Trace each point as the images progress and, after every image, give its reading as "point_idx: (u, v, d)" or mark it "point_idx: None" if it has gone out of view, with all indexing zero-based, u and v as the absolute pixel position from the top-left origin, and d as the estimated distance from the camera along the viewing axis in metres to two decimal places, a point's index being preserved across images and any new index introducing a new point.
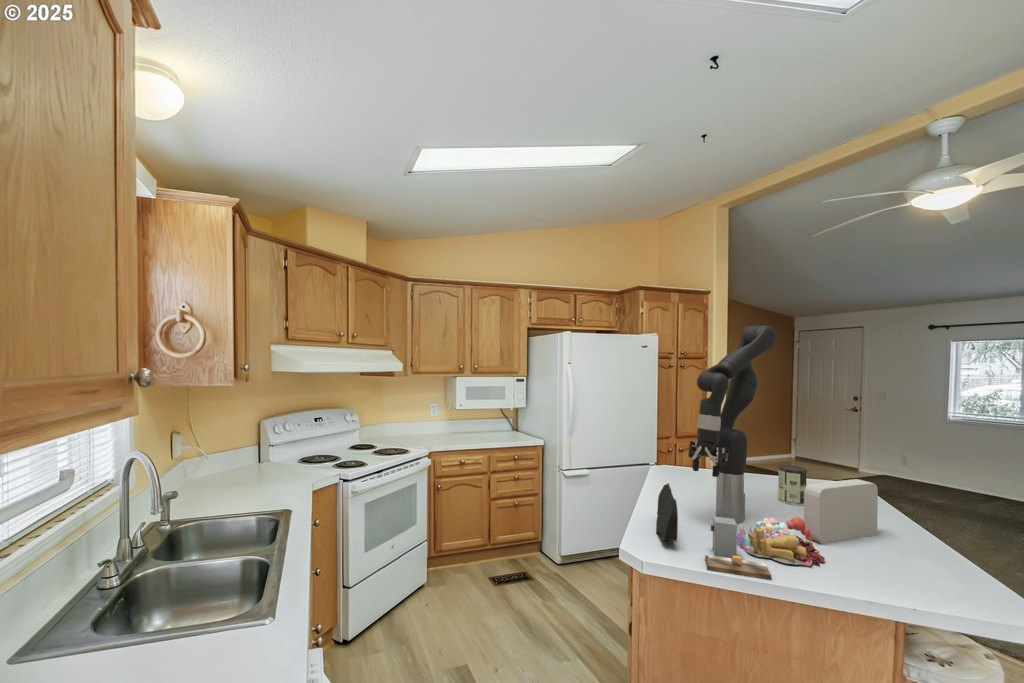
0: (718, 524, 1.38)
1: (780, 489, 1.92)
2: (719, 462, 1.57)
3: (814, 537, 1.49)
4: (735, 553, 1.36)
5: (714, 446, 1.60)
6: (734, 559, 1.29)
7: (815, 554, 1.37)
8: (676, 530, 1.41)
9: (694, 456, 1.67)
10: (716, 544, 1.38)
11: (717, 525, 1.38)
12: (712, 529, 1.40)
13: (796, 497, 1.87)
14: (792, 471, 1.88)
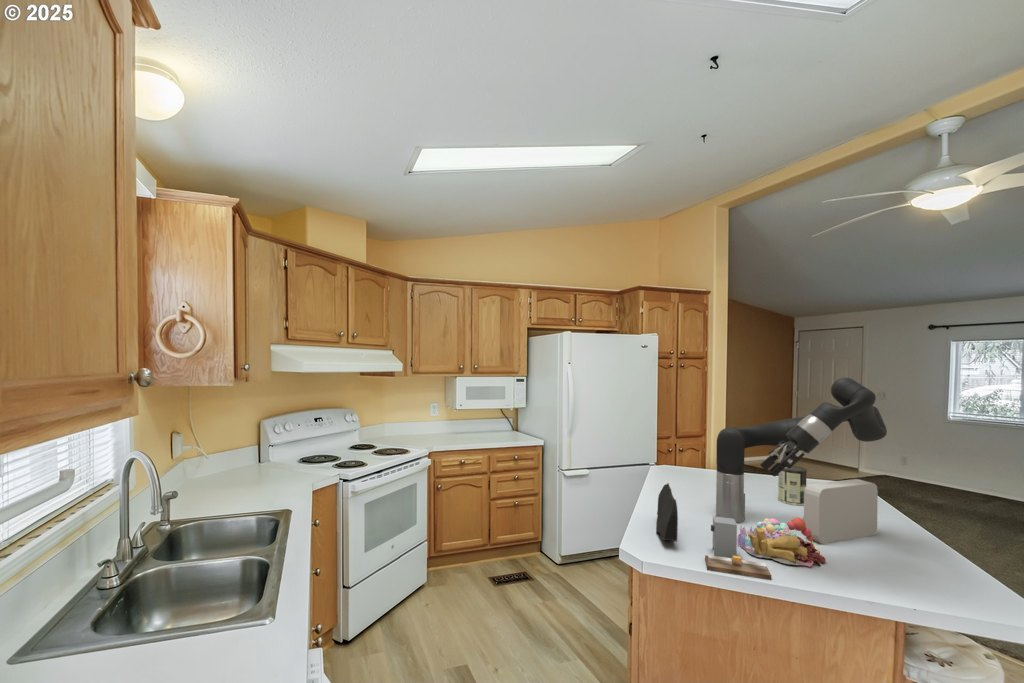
0: (718, 524, 1.38)
1: (780, 489, 1.92)
2: (784, 459, 1.30)
3: (814, 537, 1.49)
4: (735, 553, 1.36)
5: (795, 447, 1.32)
6: (734, 559, 1.29)
7: (816, 555, 1.36)
8: (676, 530, 1.41)
9: (772, 453, 1.40)
10: (716, 544, 1.38)
11: (717, 525, 1.38)
12: (712, 529, 1.40)
13: (796, 497, 1.87)
14: (792, 471, 1.88)
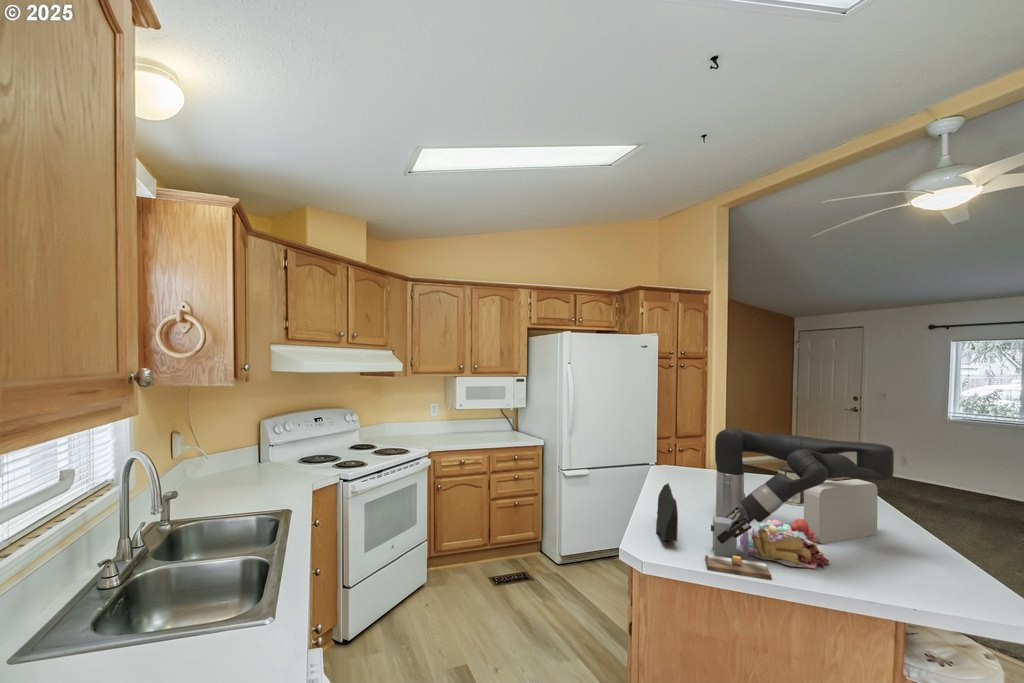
0: (718, 524, 1.38)
1: None
2: (731, 529, 1.34)
3: None
4: (735, 553, 1.36)
5: (746, 517, 1.34)
6: (734, 559, 1.29)
7: (819, 556, 1.35)
8: (676, 530, 1.41)
9: None
10: (716, 544, 1.38)
11: (717, 525, 1.38)
12: (712, 529, 1.40)
13: (796, 497, 1.87)
14: (792, 471, 1.88)
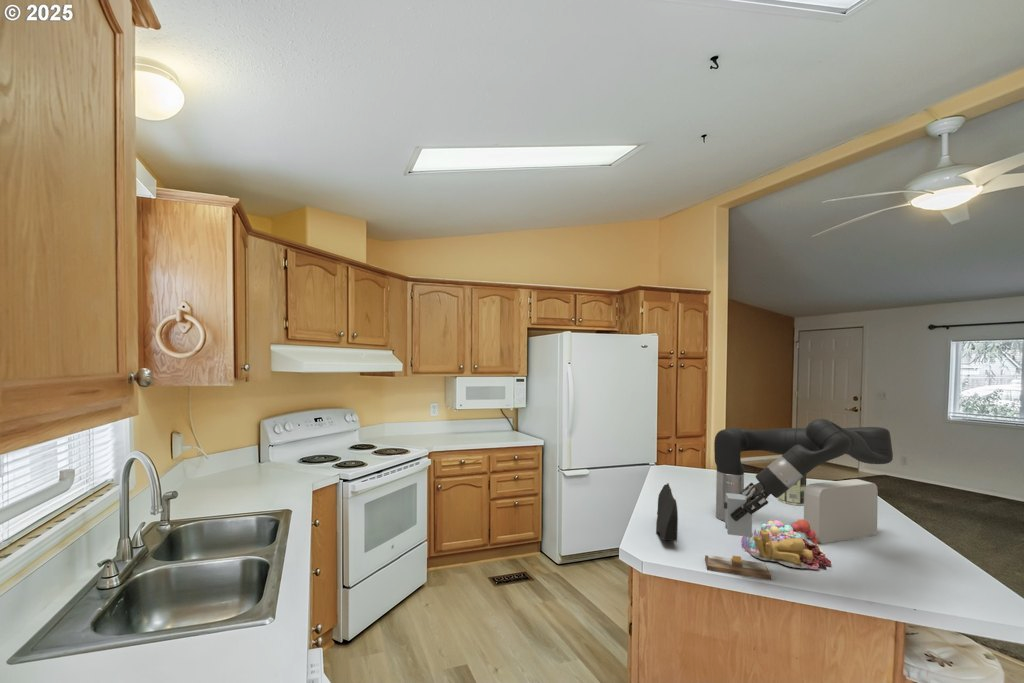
0: (731, 500, 1.28)
1: None
2: (746, 505, 1.24)
3: None
4: (750, 531, 1.26)
5: (762, 492, 1.24)
6: (734, 559, 1.29)
7: (821, 557, 1.34)
8: (676, 530, 1.41)
9: None
10: (729, 522, 1.28)
11: (731, 501, 1.28)
12: (725, 506, 1.30)
13: (796, 497, 1.87)
14: None
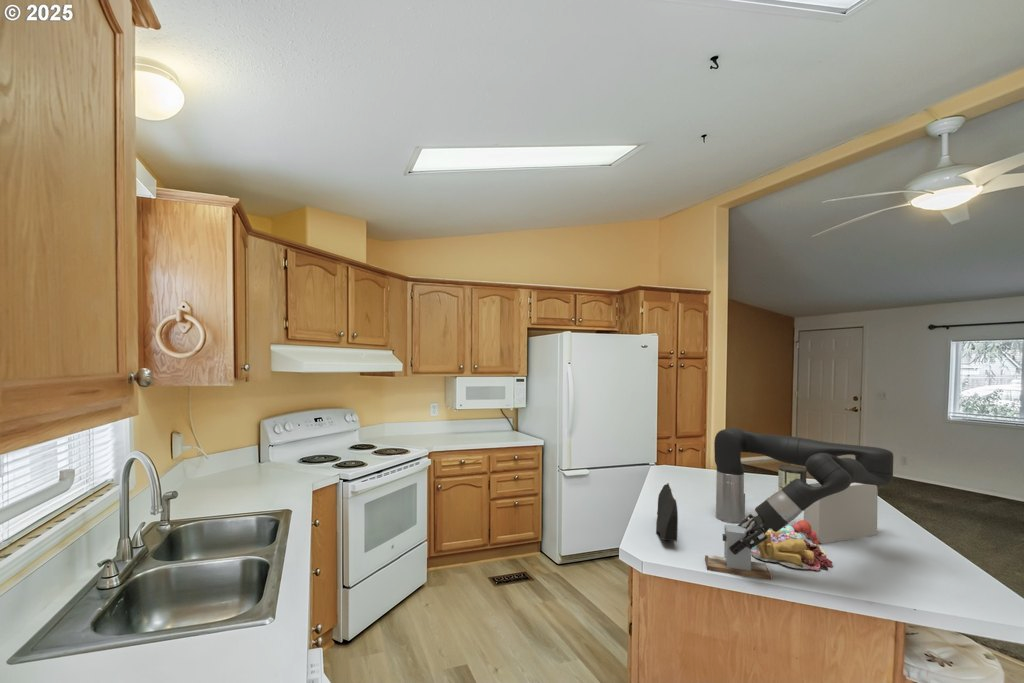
0: (731, 533, 1.27)
1: (780, 489, 1.92)
2: (745, 539, 1.24)
3: None
4: (749, 565, 1.26)
5: (761, 526, 1.24)
6: None
7: (823, 558, 1.34)
8: (676, 530, 1.41)
9: None
10: (729, 555, 1.27)
11: (730, 535, 1.28)
12: (724, 539, 1.30)
13: None
14: (792, 471, 1.88)
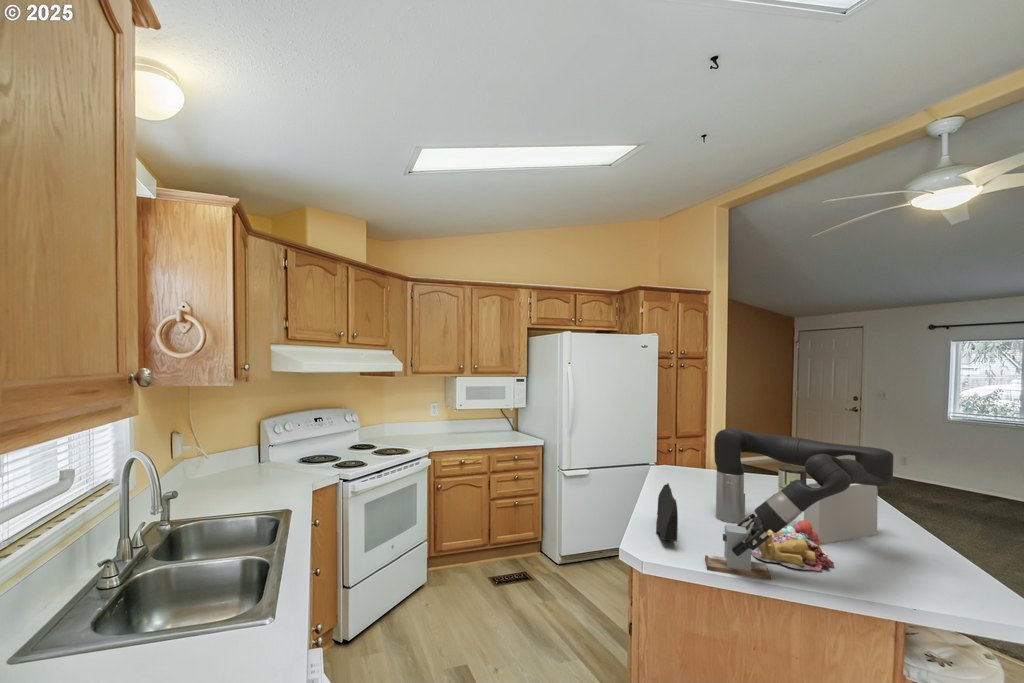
0: (731, 533, 1.27)
1: (780, 489, 1.92)
2: (747, 540, 1.23)
3: None
4: (749, 565, 1.26)
5: (761, 526, 1.24)
6: None
7: (824, 559, 1.34)
8: (676, 530, 1.41)
9: None
10: (729, 555, 1.27)
11: (730, 535, 1.27)
12: (724, 539, 1.30)
13: None
14: (792, 471, 1.88)
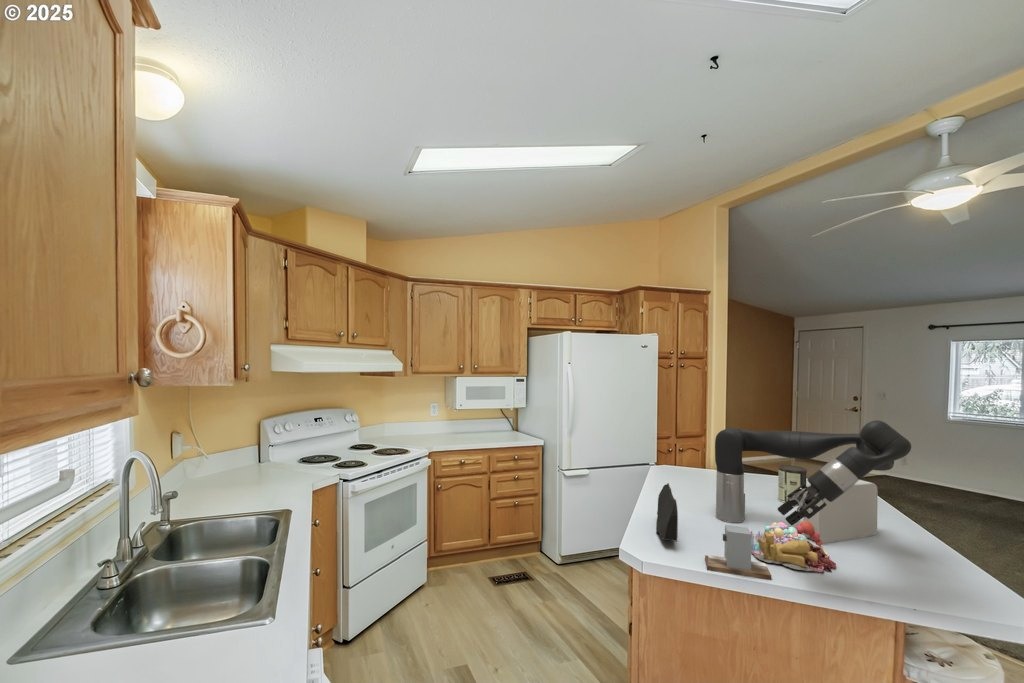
0: (731, 533, 1.27)
1: (780, 489, 1.92)
2: (803, 509, 1.19)
3: None
4: (749, 565, 1.26)
5: (816, 495, 1.21)
6: None
7: (826, 560, 1.33)
8: (676, 530, 1.41)
9: (791, 497, 1.29)
10: (729, 555, 1.27)
11: (730, 535, 1.27)
12: (724, 539, 1.30)
13: None
14: (792, 471, 1.88)
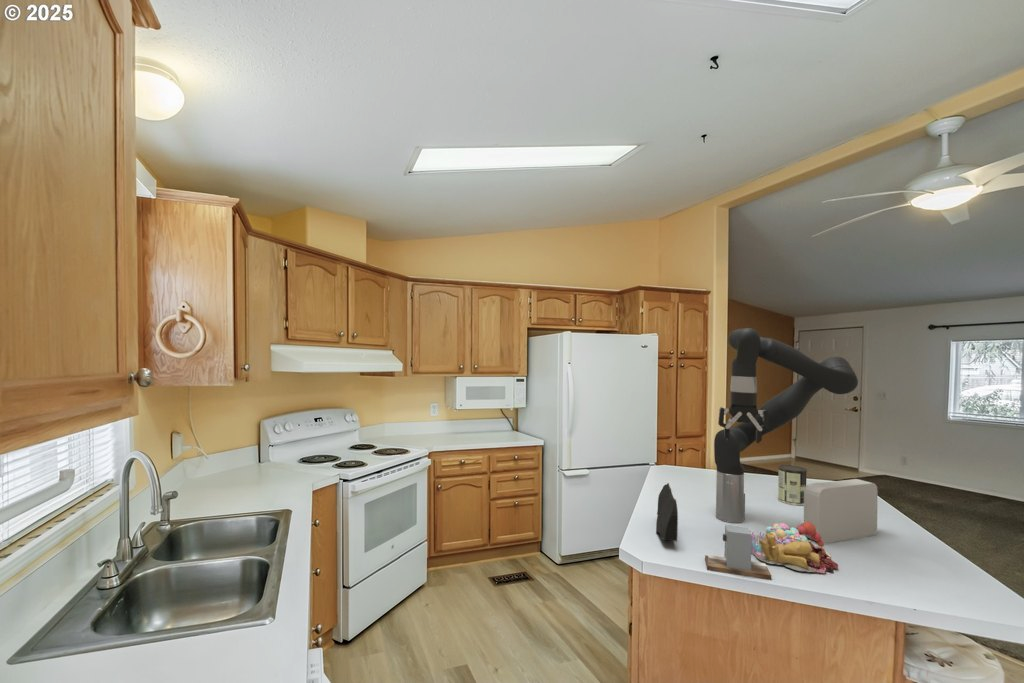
0: (731, 533, 1.27)
1: (780, 489, 1.92)
2: None
3: None
4: (749, 565, 1.26)
5: None
6: None
7: (828, 561, 1.32)
8: (676, 530, 1.41)
9: None
10: (729, 555, 1.27)
11: (730, 535, 1.27)
12: (724, 539, 1.30)
13: (796, 497, 1.87)
14: (792, 471, 1.88)
